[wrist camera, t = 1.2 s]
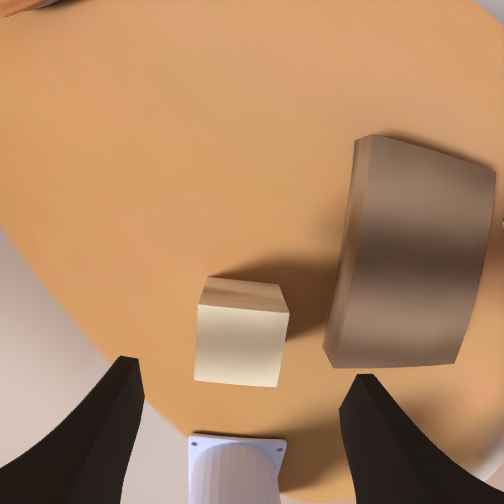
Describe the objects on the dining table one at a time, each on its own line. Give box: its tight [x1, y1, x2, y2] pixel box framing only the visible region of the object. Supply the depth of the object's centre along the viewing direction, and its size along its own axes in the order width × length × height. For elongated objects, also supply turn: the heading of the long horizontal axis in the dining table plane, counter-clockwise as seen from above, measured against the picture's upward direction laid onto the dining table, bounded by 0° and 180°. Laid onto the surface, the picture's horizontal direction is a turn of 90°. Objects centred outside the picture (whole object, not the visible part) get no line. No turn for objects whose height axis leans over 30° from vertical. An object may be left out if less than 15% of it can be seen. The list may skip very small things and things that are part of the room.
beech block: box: [194, 277, 290, 387], centre depth 18 cm, size 4×4×5 cm
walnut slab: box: [322, 134, 496, 368], centre depth 19 cm, size 14×10×3 cm
